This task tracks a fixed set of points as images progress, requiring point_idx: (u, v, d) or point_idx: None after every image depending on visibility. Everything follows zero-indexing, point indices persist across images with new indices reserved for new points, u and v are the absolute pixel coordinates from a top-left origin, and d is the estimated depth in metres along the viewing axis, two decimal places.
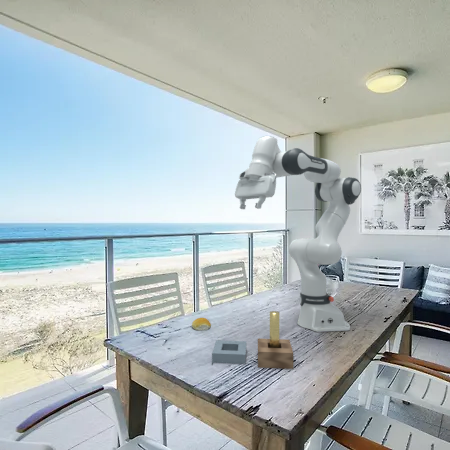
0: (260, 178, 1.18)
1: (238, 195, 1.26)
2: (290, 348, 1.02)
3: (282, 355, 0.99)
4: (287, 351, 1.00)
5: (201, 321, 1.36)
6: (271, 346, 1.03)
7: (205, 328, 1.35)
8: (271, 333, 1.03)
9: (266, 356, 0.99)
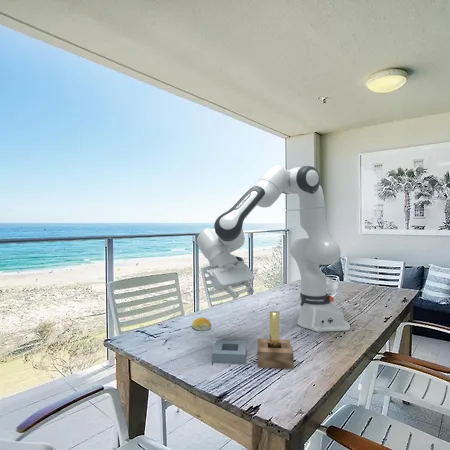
0: None
1: None
2: (290, 348, 1.02)
3: (282, 355, 0.99)
4: (287, 351, 1.00)
5: (201, 321, 1.36)
6: (271, 346, 1.03)
7: (205, 328, 1.35)
8: (271, 333, 1.03)
9: (266, 356, 0.99)
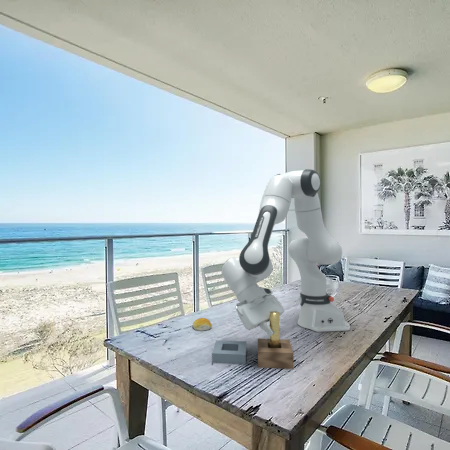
0: None
1: None
2: (290, 348, 1.02)
3: (282, 355, 0.99)
4: (287, 351, 1.00)
5: (202, 321, 1.36)
6: (271, 346, 1.03)
7: (206, 328, 1.35)
8: None
9: (266, 356, 0.99)
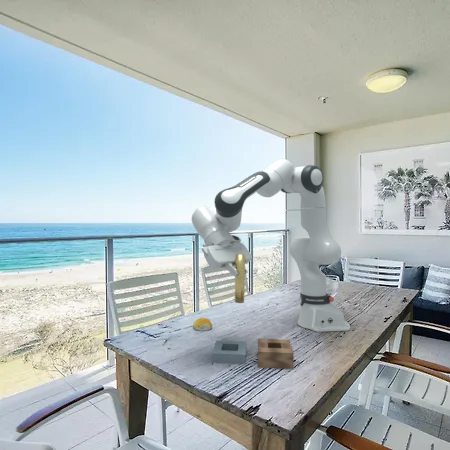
0: None
1: None
2: (290, 348, 1.02)
3: (282, 355, 0.99)
4: (287, 351, 1.00)
5: (202, 321, 1.36)
6: (236, 287, 1.05)
7: (206, 328, 1.35)
8: None
9: (266, 356, 0.99)
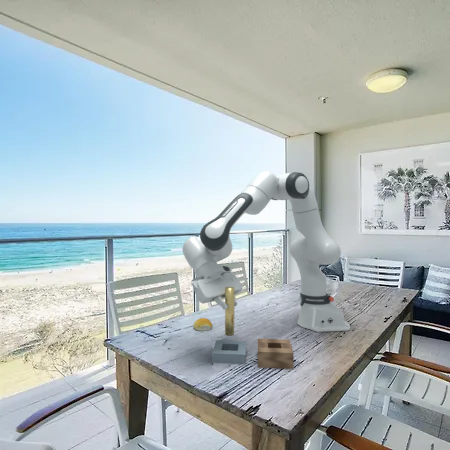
0: None
1: None
2: (290, 348, 1.02)
3: (282, 355, 0.99)
4: (287, 351, 1.00)
5: (203, 322, 1.36)
6: (226, 320, 1.07)
7: (207, 329, 1.35)
8: None
9: (266, 356, 0.99)
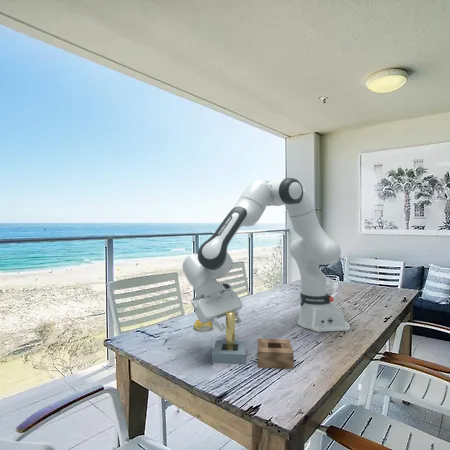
0: None
1: None
2: (290, 348, 1.02)
3: (282, 355, 0.99)
4: (287, 351, 1.00)
5: None
6: (226, 345, 1.07)
7: (207, 329, 1.35)
8: (226, 332, 1.07)
9: (266, 356, 0.99)
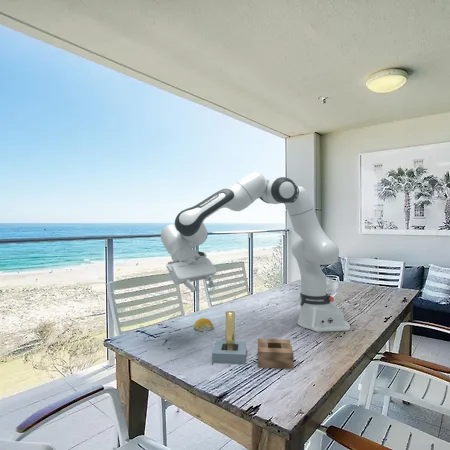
0: None
1: None
2: (290, 348, 1.02)
3: (282, 355, 0.99)
4: (287, 351, 1.00)
5: (203, 322, 1.35)
6: (226, 345, 1.07)
7: (207, 329, 1.34)
8: (226, 332, 1.07)
9: (266, 356, 0.99)
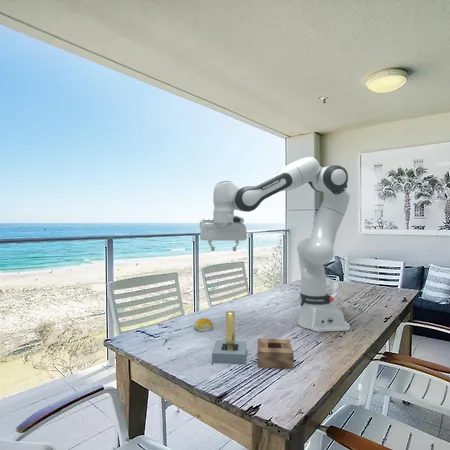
0: None
1: None
2: (290, 348, 1.02)
3: (282, 355, 0.99)
4: (287, 351, 1.00)
5: (203, 322, 1.35)
6: (226, 345, 1.07)
7: (208, 329, 1.34)
8: (226, 332, 1.07)
9: (266, 356, 0.99)
